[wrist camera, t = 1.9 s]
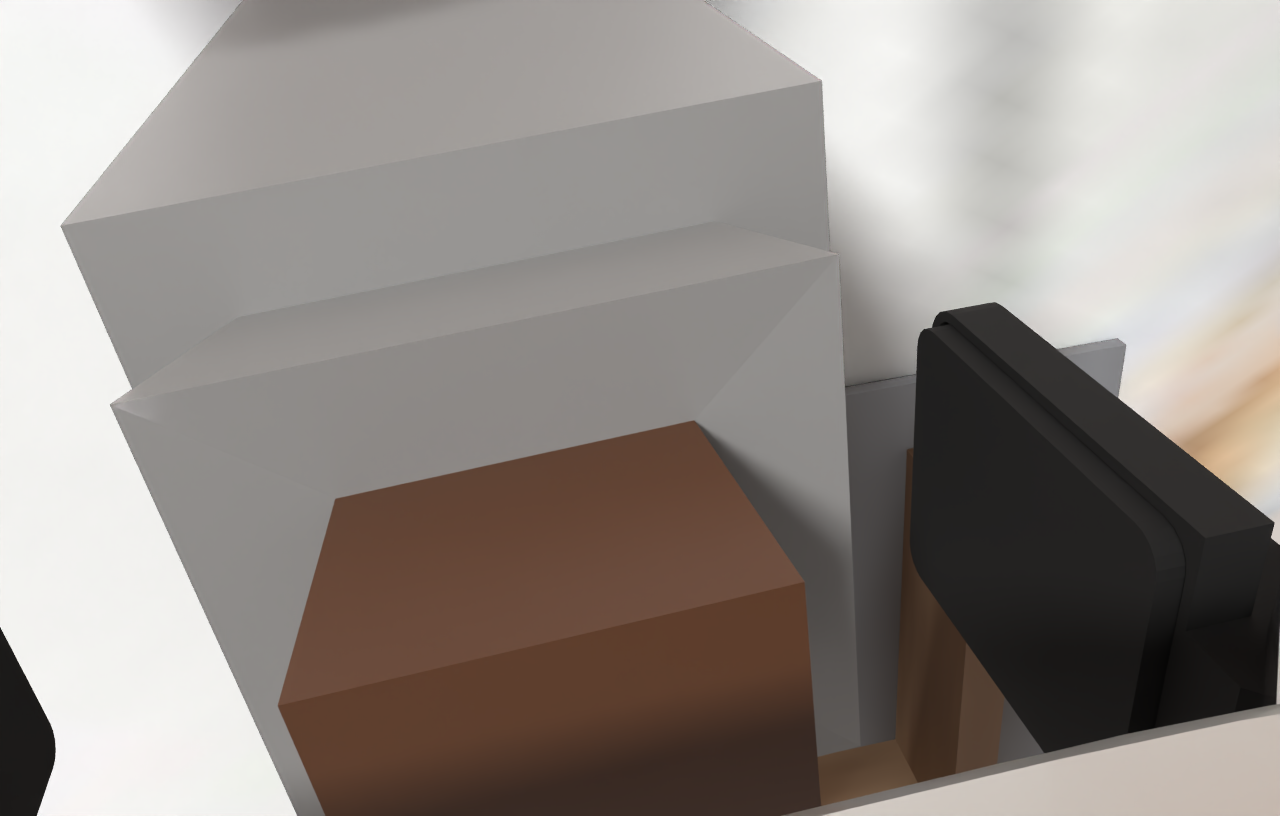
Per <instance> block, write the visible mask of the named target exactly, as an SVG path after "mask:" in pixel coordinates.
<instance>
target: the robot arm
mask: <svg viewBox="0 0 1280 816" xmlns="http://www.w3.org/2000/svg"><path fill="white" fill-rule="evenodd" d="M1273 527H1274V522H1273V521H1272V520H1270V519H1269V518H1268V517H1267V516H1265V515H1264V514H1263V513H1262V512H1260V511H1259V510H1258V509H1257V508H1255V507H1254V506H1253V505H1252V504H1250V503H1249V502H1248V501H1247V500H1245V499H1244V498H1243V497H1242V496H1240V495H1239V494H1238V493H1237V492H1235V491H1234V490H1233V489H1231V488H1230V487H1229V486H1228V485H1226V484H1225V483H1224V482H1223V481H1221V480H1220V479H1219V478H1218V477H1216V476H1215V475H1214V474H1213V473H1211V472H1210V471H1209V470H1208V469H1206V468H1205V467H1204V466H1203V465H1201V464H1200V463H1199V462H1198V461H1196V460H1195V459H1194V458H1193V457H1191V456H1190V455H1189V454H1188V453H1186V452H1185V451H1184V450H1182V449H1181V448H1180V447H1179V446H1177V445H1176V444H1175V443H1174V442H1172V441H1171V440H1170V439H1169V438H1167V437H1166V436H1165V435H1164V434H1162V433H1161V432H1160V431H1159V430H1157V429H1156V428H1155V427H1154V426H1152V425H1151V424H1150V423H1149V422H1147V421H1146V420H1145V419H1144V418H1142V417H1141V416H1140V415H1138V414H1137V413H1136V412H1135V411H1133V410H1132V409H1131V408H1130V407H1128V406H1127V405H1126V404H1125V403H1123V402H1122V401H1121V400H1120V399H1118V398H1117V397H1116V396H1115V395H1113V394H1112V393H1111V392H1110V391H1108V390H1107V389H1106V388H1105V387H1103V386H1102V385H1101V384H1100V383H1098V382H1097V381H1096V380H1094V379H1093V378H1092V377H1091V376H1089V375H1088V374H1087V373H1086V372H1084V371H1083V370H1082V369H1081V368H1079V367H1078V366H1077V365H1076V364H1074V363H1073V362H1072V361H1071V360H1069V359H1068V358H1067V357H1066V356H1064V355H1063V354H1062V353H1061V352H1059V351H1058V350H1057V349H1056V348H1054V347H1053V346H1052V345H1051V344H1049V343H1048V342H1047V341H1045V340H1044V339H1043V338H1042V337H1040V336H1039V335H1038V334H1037V333H1035V332H1034V331H1033V330H1032V329H1030V328H1029V327H1028V326H1027V325H1025V324H1024V323H1023V322H1022V321H1020V320H1019V319H1018V318H1017V317H1015V316H1014V315H1013V314H1012V313H1010V312H1009V311H1008V310H1007V309H1005V308H1004V307H1003V306H1001V305H999V304H997V303H995V302H994V303H987V304H981V305H976V306H971V307H965V308H960V309H954V310H949V311H943V312H940V313H939V314H938V315H937V316H936V317H935V320H934V322H933V326H932V328H928V329H924V330H923V331H922V332H921V333H920V336H919V338H918V346H917V371H916V395H915V420H914V445H913V470H912V495H911V519H910V550H911V556H912V559H913V563H914V565H915V568H916V570H917V572H918V574H919V576H920V578H921V579H922V581H923V582H924V583H925V585H926V586H927V588H928V589H929V590H930V592H931V593H932V595H933V596H934V598H935V599H936V600H937V602H938V603H939V605H940V606H941V607H942V609H943V610H944V612H945V613H946V615H947V616H948V617H949V619H950V620H951V622H952V623H953V624H954V626H955V627H956V629H957V630H958V632H959V633H960V634H961V636H962V637H963V639H964V640H965V641H966V643H967V644H968V646H969V647H970V649H971V650H972V651H973V653H974V654H975V656H976V657H977V659H978V660H979V661H980V663H981V664H982V666H983V667H984V668H985V670H986V671H987V673H988V674H989V676H990V677H991V678H992V680H993V681H994V683H995V684H996V685H997V687H998V688H999V690H1000V691H1001V693H1002V694H1003V695H1004V697H1005V698H1006V700H1007V701H1008V702H1009V704H1010V705H1011V707H1012V708H1013V710H1014V711H1015V712H1016V714H1017V715H1018V717H1019V718H1020V719H1021V721H1022V722H1023V724H1024V725H1025V727H1026V728H1027V729H1028V731H1029V732H1030V734H1031V735H1032V736H1033V738H1034V739H1035V741H1036V742H1037V744H1038V745H1039V746H1040V748H1041V749H1042V751H1043V752H1044V754H1040V755H1035V756H1031V757H1026V758H1022V759H1017V760H1013V761H1008V762H1004V763H1000V764H995V765H991V766H987V767H982V768H978V769H974V770H970V771H966V772H962V773H957V774H953V775H949V776H945V777H941V778H937V779H932V780H928V781H924V782H920V783H916V784H912V785H907V786H903V787H899V788H895V789H891V790H887V791H882V792H878V793H874V794H870V795H866V796H862V797H857V798H853V799H849V800H845V801H841V802H836V803H832V804H828V805H824V806H820V807H816V808H811V809H807V810H803V811H799V812H795V813H791V814H786V815H782V816H1280V545H1279V544H1278V543H1276V542H1275V541H1274V540H1272V539H1271V535H1272V531H1273ZM55 752H56V748H55V738H54V734H53V730H52V727H51V725H50V722H49V720H48V719H47V717H46V715H45V713H44V711H43V709H42V707H41V705H40V703H39V701H38V699H37V697H36V695H35V693H34V692H33V690H32V688H31V686H30V684H29V682H28V680H27V678H26V676H25V674H24V672H23V670H22V668H21V666H20V665H19V663H18V661H17V659H16V657H15V655H14V653H13V651H12V649H11V647H10V645H9V643H8V641H7V640H6V638H5V636H4V634H3V632H2V630H1V628H0V816H37V813H38V810H39V808H40V805H41V802H42V799H43V796H44V793H45V790H46V787H47V784H48V781H49V778H50V775H51V772H52V769H53V766H54V762H55Z"/></svg>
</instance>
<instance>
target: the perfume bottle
mask: <svg viewBox="0 0 1280 816" xmlns="http://www.w3.org/2000/svg"><path fill="white" fill-rule="evenodd" d="M61 228H62V230H63V232H64V235H65V237H66V239H67V242H68V244H69V246H70V248H71V251H72V253H73V255H74V258H75V260H76V262H77V264H78V267H79V269H80V271H81V273H82V276H83V278H84V280H85V283H86V285H87V287H88V289H89V292H90V294H91V296H92V298H93V301H94V303H95V305H96V308H97V310H98V312H99V314H100V317H101V319H102V321H103V323H104V326H105V328H106V330H107V333H108V335H109V337H110V339H111V342H112V344H113V346H114V348H115V351H116V353H117V355H118V358H119V360H120V362H121V364H122V367H123V369H124V371H125V374H126V376H127V378H128V380H129V383H130V385H131V387H132V390H130V391H129V392H127V393H126V394H124V395H123V396H122V397H120V398H119V399H117V400H116V401H114V402H113V403H111V404H110V406H111V408H112V410H113V413H114V415H115V417H116V419H117V421H118V423H119V426H120V428H121V430H122V432H123V434H124V437H125V439H126V441H127V443H128V445H129V448H130V450H131V452H132V454H133V456H134V459H135V461H136V463H137V465H138V467H139V470H140V472H141V474H142V476H143V478H144V481H145V483H146V485H147V487H148V489H149V491H150V494H151V496H152V498H153V500H154V502H155V505H156V507H157V509H158V511H159V513H160V516H161V518H162V520H163V522H164V524H165V527H166V529H167V531H168V533H169V535H170V538H171V540H172V542H173V544H174V546H175V548H176V551H177V553H178V555H179V557H180V559H181V562H182V564H183V566H184V568H185V570H186V573H187V575H188V577H189V579H190V581H191V584H192V586H193V588H194V590H195V592H196V595H197V597H198V599H199V601H200V603H201V605H202V608H203V610H204V612H205V614H206V616H207V619H208V621H209V623H210V625H211V627H212V630H213V632H214V634H215V636H216V638H217V641H218V643H219V645H220V647H221V649H222V652H223V654H224V656H225V658H226V660H227V662H228V665H229V667H230V669H231V671H232V673H233V676H234V678H235V680H236V682H237V684H238V687H239V689H240V691H241V693H242V695H243V698H244V700H245V702H246V704H247V706H248V709H249V711H250V713H251V715H252V717H253V719H254V722H255V724H256V726H257V728H258V730H259V733H260V735H261V737H262V739H263V741H264V744H265V746H266V748H267V750H268V752H269V755H270V757H271V759H272V761H273V763H274V766H275V768H276V770H277V772H278V774H279V776H280V779H281V781H282V783H283V785H284V787H285V790H286V792H287V794H288V796H289V798H290V801H291V803H292V805H293V807H294V809H295V812H296V814H297V816H782V815H786V814H791V813H795V812H799V811H803V810H807V809H811V808H816V807H820V806H821V797H820V784H819V770H818V757H819V756H823V755H827V754H831V753H835V752H839V751H843V750H847V749H851V748H855V747H859V746H861V744H860V721H859V698H858V675H857V652H856V629H855V606H854V583H853V560H852V537H851V515H850V492H849V469H848V446H847V423H846V400H845V377H844V354H843V331H842V308H841V285H840V262H839V254H837V253H834V252H830V240H829V220H828V199H827V178H826V158H825V137H824V116H823V95H822V81H821V80H820V79H818V78H817V77H816V76H814V75H813V74H811V73H810V72H808V71H807V70H805V69H804V68H802V67H801V66H799V65H798V64H796V63H795V62H793V61H792V60H790V59H789V58H788V57H786V56H785V55H783V54H782V53H780V52H779V51H777V50H776V49H774V48H773V47H771V46H770V45H768V44H767V43H765V42H764V41H763V40H761V39H760V38H758V37H757V36H755V35H754V34H752V33H751V32H749V31H748V30H746V29H745V28H743V27H742V26H740V25H739V24H737V23H736V22H735V21H733V20H732V19H730V18H729V17H727V16H726V15H724V14H723V13H721V12H720V11H718V10H717V9H715V8H714V7H712V6H711V5H709V4H708V3H707V2H705V1H704V0H243V1H242V2H241V3H240V5H239V6H238V7H237V8H236V10H235V11H234V12H233V13H232V15H231V16H230V17H229V18H228V19H227V21H226V22H225V23H224V24H223V26H222V27H221V28H220V29H219V31H218V32H217V33H216V34H215V36H214V37H213V38H212V39H211V40H210V42H209V43H208V44H207V45H206V47H205V48H204V49H203V50H202V52H201V53H200V54H199V55H198V57H197V58H196V59H195V60H194V62H193V63H192V64H191V65H190V66H189V68H188V69H187V70H186V71H185V73H184V74H183V75H182V76H181V78H180V79H179V80H178V81H177V83H176V84H175V85H174V86H173V87H172V89H171V90H170V91H169V92H168V94H167V95H166V96H165V97H164V99H163V100H162V101H161V102H160V104H159V105H158V106H157V107H156V108H155V110H154V111H153V112H152V113H151V115H150V116H149V117H148V118H147V120H146V121H145V122H144V123H143V125H142V126H141V127H140V128H139V129H138V131H137V132H136V133H135V134H134V136H133V137H132V138H131V139H130V141H129V142H128V143H127V144H126V146H125V147H124V148H123V149H122V150H121V152H120V153H119V154H118V155H117V157H116V158H115V159H114V160H113V162H112V163H111V164H110V165H109V167H108V168H107V169H106V170H105V171H104V173H103V174H102V175H101V176H100V178H99V179H98V180H97V181H96V183H95V184H94V185H93V186H92V188H91V189H90V190H89V191H88V192H87V194H86V195H85V196H84V197H83V199H82V200H81V201H80V202H79V204H78V205H77V206H76V207H75V209H74V210H73V211H72V212H71V214H70V215H69V216H68V217H67V218H66V220H65V221H64V222H63V223H62V225H61Z"/></svg>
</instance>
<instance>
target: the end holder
mask: <svg viewBox="0 0 1280 816" xmlns="http://www.w3.org/2000/svg"><path fill="white" fill-rule="evenodd" d="M1125 349H1126V344H1124V343H1123V342H1122V341H1120V340H1119V339H1118V338H1117V339H1112V340H1106V341H1101V342H1095V343H1089V344H1084V345H1078V346H1073V347H1067V348H1062V349H1057V350H1058V351H1059V352H1061V353H1062V354H1063V355H1064V356H1066V357H1067V358H1068V359H1069V360H1071V361H1072V362H1073V363H1074V364H1076V365H1077V366H1078V367H1079V368H1081V369H1082V370H1083V371H1084V372H1086V373H1087V374H1088V375H1089V376H1091V377H1092V378H1093V379H1094V380H1096V381H1097V382H1098V383H1100V384H1101V385H1102V386H1103V387H1105V388H1106V389H1107V390H1108V391H1110V392H1111V393H1112V394H1113V395H1115V396H1116V397H1117V398H1118V395H1119V388H1120V382H1121V375H1122V369H1123V362H1124V356H1125ZM915 395H916V375H911V376H905V377H900V378H894V379H888V380H883V381H877V382H872V383H866V384H861V385H855V386H849V387H845V400H846V423H847V446H848V469H849V492H850V515H851V537H852V560H853V583H854V606H855V629H856V652H857V675H858V698H859V721H860V744H861V746H859V747H855V748H851V749H847V750H843V751H839V752H835V753H831V754H827V755H823V756H819V757H818V770H819V784H820V797H821V806H824V805H828V804H832V803H836V802H841V801H845V800H849V799H853V798H857V797H862V796H866V795H870V794H874V793H878V792H882V791H887V790H891V789H895V788H899V787H903V786H907V785H912V784H916V783H920V782H924V781H928V780H932V779H937V778H941V777H945V776H949V775H953V774H957V773H962V772H966V771H970V770H974V769H978V768H982V767H987V766H991V765H995V764H1000V763H1004V762H1008V761H1013V760H1017V759H1022V758H1026V757H1031V756H1035V755H1040V754H1044V752H1043V751H1042V749H1041V748H1040V746H1039V745H1038V744H1037V742H1036V741H1035V739H1034V738H1033V736H1032V735H1031V734H1030V732H1029V731H1028V729H1027V728H1026V727H1025V725H1024V724H1023V722H1022V721H1021V719H1020V718H1019V717H1018V715H1017V714H1016V712H1015V711H1014V710H1013V708H1012V707H1011V705H1010V704H1009V702H1008V701H1007V700H1006V698H1005V697H1004V695H1003V694H1002V693H1001V691H1000V690H999V688H998V687H997V685H996V684H995V683H994V681H993V680H992V678H991V677H990V676H989V674H988V673H987V671H986V670H985V668H984V667H983V666H982V664H981V663H980V661H979V660H978V659H977V657H976V656H975V654H974V653H973V651H972V650H971V649H970V647H969V646H968V644H967V643H966V641H965V640H964V639H963V637H962V636H961V634H960V633H959V632H958V630H957V629H956V627H955V626H954V624H953V623H952V622H951V620H950V619H949V617H948V616H947V615H946V613H945V612H944V610H943V609H942V607H941V606H940V605H939V603H938V602H937V600H936V599H935V598H934V596H933V595H932V593H931V592H930V590H929V589H928V588H927V586H926V585H925V583H924V582H923V581H922V579H921V578H920V576H919V574H918V572H917V570H916V568H915V565H914V563H913V559H912V556H911V550H910V519H911V495H912V470H913V445H914V420H915Z"/></svg>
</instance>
